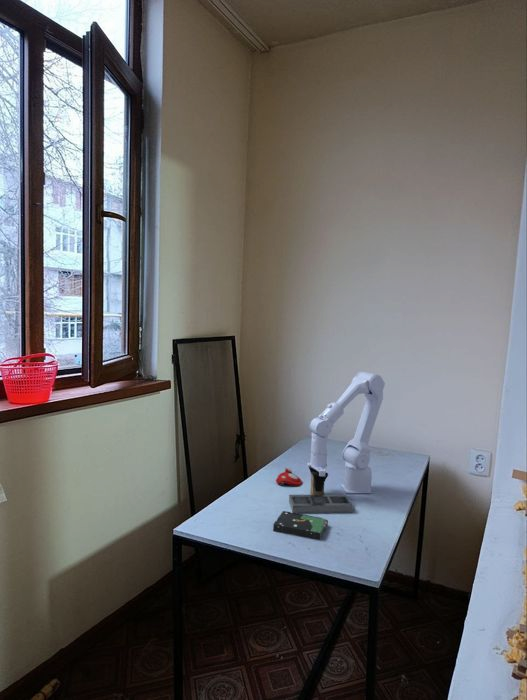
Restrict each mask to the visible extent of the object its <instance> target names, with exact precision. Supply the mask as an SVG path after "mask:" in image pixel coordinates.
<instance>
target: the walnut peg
mask: <svg viewBox="0 0 527 700" xmlns="http://www.w3.org/2000/svg"><path fill="white" fill-rule="evenodd" d="M310 495H325V484H324V485H323V489H322V491H321V492H316V490H315V483H314V477H313V475H312V472H310Z"/></svg>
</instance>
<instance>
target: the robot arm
mask: <svg viewBox="0 0 527 700" xmlns="http://www.w3.org/2000/svg"><path fill="white" fill-rule="evenodd" d="M385 385H386V383H385V381H384V379H383V377H382V376H381V375H379V374H374V373H371V372H367V371H363V370H362V371H359V372H357V374H356V375H355V376H354V377H353V378H352V379H351V382H350V385H349V386H347V388H346V390H345V391H344V392H343V393H342V395H341V396H340V397H339V398H338V400H337V401H335V402H330V403H328V404H327V405H326V408H324V410H323V411H322V412H321V413H320V414H319V415H318V417H315V418H313V419H312V420H311V421H310V424H309V425H308V429H309V431H310V432H311V441H310V442H311V443H310V444H311V445H310V446H311V447H310V462H306V466H307V467H308V468H309V469H308V470H309V472H310V473H311V472H312V475H313V477H314V483H315V490H316V492H321V491H322V489H323V485H324V486H325V483H326V480H327V478H328V476H329V473H328V472H326V470H327V467H328V464H327V463H328V462H327V461H328V441H329V435H330V434H331V433H332V431H333V430H332V429H333V427H334V425H335V423H336V422H337V421H338V420H339V419H340V418H341V417H342V416H343V415H344V409H345V408H346V407H347V406H349V404H350V403H351V402H352V401H353V400H354V399H355V398H356V397H357V396H359V395H360V394H364V396H365V397H366V400H365V403H364V406H363V409H362V412H361V415H360V418H359V422H358V424H357V426H356V430H355V433H354V437H353V438H351V440H349V441H347V444H346V446H345V447H344V449H343V450H342V454H341V457H342V460H344V464H345V465H344V467H345V468H344V470H345V471H344V483H341V484H340V485H341V488H342V489H343V490H344V492H345V493H346V494H372V479H373V478H372V476H373V475H372V473H373V472H372V468H371V467H370V462H371V461H370V459H371V448H370V446H369V441H370V439H371V436H372V432H373V431H374V430H373V429H374V427H375V423H376V421H377V417H378V415H379V412H380V409H381V406H382V404H383V403H382V402H383V400H384V388H385Z"/></svg>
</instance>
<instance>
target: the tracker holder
mask: <svg viewBox="0 0 527 700" xmlns="http://www.w3.org/2000/svg"><path fill="white" fill-rule="evenodd" d="M284 469H285V471H284V472H282V473H278V476H277V477H276V479H275V482H276V484H278V485H281V484H282V483H286V484H288V485H291V486H294V487H300V486H301V485H302V484H303V481H302V479H301V478H300V477H299V476H297V474H295V473H293V472H292V469H290V468H288V467H286V466H285V467H284Z"/></svg>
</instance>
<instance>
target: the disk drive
mask: <svg viewBox="0 0 527 700" xmlns="http://www.w3.org/2000/svg"><path fill="white" fill-rule="evenodd" d="M272 525H273V526H272V528H273V529H272V531H273V532H276V533H281V534H282V533H283V534H286V535H291V536H297V537H302V538H307V539H311V540H318V541H321V540H322V538H323V536H324V534H325V533H326V530H327V529H328V527H329V521H328V519H326V518H323V517H319V516H313V515H308V514H304V513H293V512H292V511H286V510H283V511H282V512H281V514H280V515H279V516H278V517H277V520H275V521H274V522H273V524H272Z"/></svg>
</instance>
